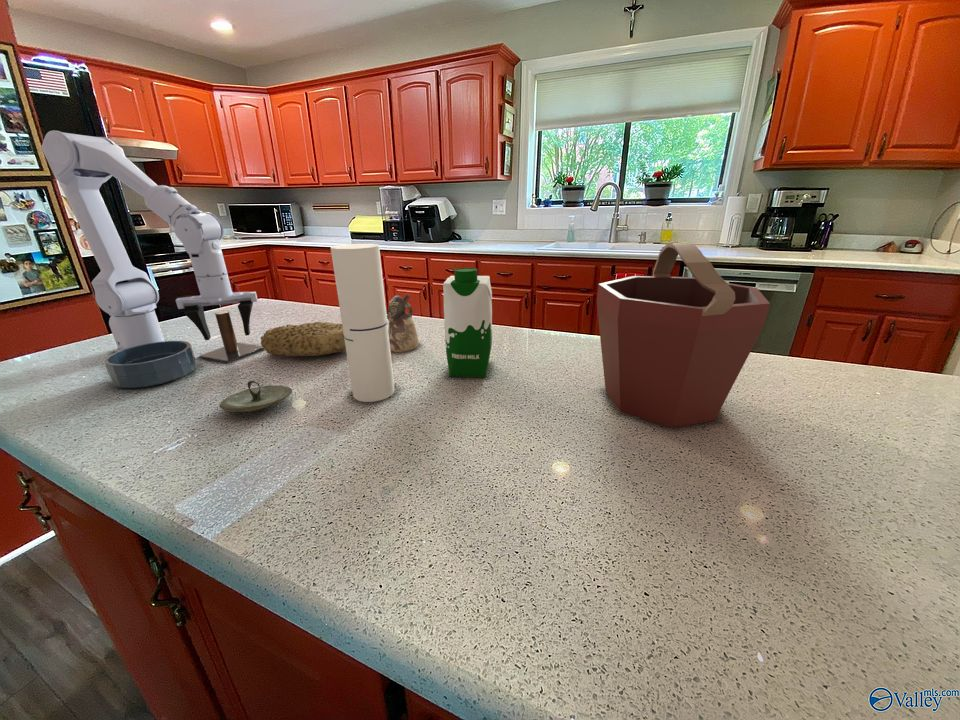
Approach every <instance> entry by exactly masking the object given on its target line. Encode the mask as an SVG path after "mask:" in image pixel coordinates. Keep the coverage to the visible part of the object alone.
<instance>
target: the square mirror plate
mask: <svg viewBox="0 0 960 720" xmlns="http://www.w3.org/2000/svg"><path fill="white" fill-rule="evenodd" d="M237 344H238V348H239V351H237V352H235V353H226V352H225V348H224V346H223V347H220V348H217V349H214V350H212V351H208V352H206V353H203V354H200V355H199V358H200V359H203V360H204V359H205V360H211V361H216V362H220V363H226V364H230V363H232V362H235V361H238V360H240V359H243V358H245V357H247V356H250V355H253V354H256V353H258V352H260V351H264V348H263V347H262V346H260V345H259V346H258V345H254V344H253V345H252V344H247V343H240V342H237Z"/></svg>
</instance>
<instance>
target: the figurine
mask: <svg viewBox="0 0 960 720" xmlns="http://www.w3.org/2000/svg"><path fill="white" fill-rule="evenodd" d="M410 298H411V295H409V294H407V293H406V294H405V295H404V296H403V297H402V296H400V295H394V296H393V297H392V298H391V299H390V300H389V301H388V307H387V308H388V309H387V310H386V315H387V322H388V333H389V343H390V352H394V353H395V352H396V353H404V352H409V351H413V350H415V349H416V348H417V347H418V345H419V336H418V331H417V327H416V324H415V322H414V319H413V313H414V312H413V307H412V305H411V304H410V303H409V302H408V301H409V300H410ZM406 309H408V312H406Z"/></svg>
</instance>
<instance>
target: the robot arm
mask: <svg viewBox="0 0 960 720" xmlns="http://www.w3.org/2000/svg"><path fill="white" fill-rule="evenodd" d="M40 148H41V151H42V153H43V154H44V157H45V159H46V161H47V163H48V165H49V168H50V169H51V172H52V174H53V175H54V177H55V179H56V181H58V183H59V186H60V188H61V190H62V192H63V194H64V196H65V198H66V200H67V202H68V204H69V206H70V209H71V211H72V213H73V215H74V217H75V219H76V221H77V223H78V225H79V228H80V230H81V232H82V234H83V237H84V239H85V241H86V242H87V244H88V246H89V249H90V251H91V253H92V255H93V257H94V260H95V261H96V263H97V266H98V267H99V269H100V272H98V274H97V275H96V276H95V277H94V278H93V279H92V281H91V285H92V287H93V290H94V298H95V302H96V304H97V306H98V307H99V308H100V309H101V311H103V312H104V313H106V314H108V315H109V316H110V317H109V320H108V325H109V328H110V331H111V334H112V336H113V338H114V342H115V344H116V346H117V347H116V348H114V349H113V352H118V351H120V350H123V349H127V348H130V347H134V346H138V345H143V344H147V343H154V342H161V341H166V340H165V337H164V335H163V332H162V328H161V326H160V325H161V324H160V323H159V319H158V316H157V314H156V310H155V309H157V307H158V306H157V304H158V303H159V300H160V293H159V291H158V289H157V286H156V285H155V284H154V283H153V282H152V281H151V279H150V277H149V275H148V274H147V272H145V271H144V270H141V269H139V268H137V267H135V266H134V265H133V264H132V262H131V260H130V257H129V255H128V253H127V250H126V248H125V246H124V244H123V241H122V239H121V237H120V235H119V232H118V231H117V228H116V225H115V223H114V222H113V219H112V216H111V215H110V212H109V210H108V207H107V205H106V204H105V201H104V198H103V197H102V194H101V192H100V188H101V187H102V185H103V184H104V183H106V182H107V181H109V180H110V179H111V178H112V177H113V178H115V179H116V180H118V181H120V182H121V183H122V184H124V185H125V186H126V187H128V188H130V189H131V190H133V191H134V192H135V193H137V194H138V195H140V196H142V197H143V199H144V204H145V206H146V207H147V208H148V209H149V210H150V211H152V212H153V213H154V214H155V215H157V216H158V217H159V218H161V219H162V220H163V221H165V222H166V223H167V224H168V225H169V226H171V227H172V228H173V232H174V234H175V236H176V238H177V239H178V240H179V241H180V242H181V244H182V245H183V248H184V251H185V252H186V253H187V254H188V256H189V259H190V262H191V266H192V269H193V273H194V277H195V280H196V284H197V288H198V291H199V295H193V296H186V297H185V296H184V297H178V298H176V299H175V303H176V306H177V309H178V310H183V309H184V311H183V314H184V315H185V317H187V318H188V319H189V320H190V321H191V322H192V323H193V324H194V325H195V326H196V328H197V329H198V331H199V332H200V334H201V335H202V337H203V339H204V341H209V340H210V339H211V337H212V336H211V332H210V329H209V327H208V324H207V320H206V315H205V310H204V307H209V306H220V305H231V304H238V305H237V309H238V311H239V315H240V318H241V321H242V326H243V331H244V336H250V334H251V330H250V329H251V327H250V325H251V324H250V321H251V314H252V309H253V305H254V303H257V302H258V301H259V299H258V294H257V291H233V290H232V286H231V282H230V278H229V274H228V270H227V266H226V262H225V259H224V254H223V251H222V247H221V243H220V240H222V239H223V236H224V226H223V224H222V222H221V221H220V219H219V218H218V217H217V216H216V215H215V214H214V213H213V212H210V211H209V212H208V211H202V210H200V209H199V208H198V207H197V206H196V205H195V204H192V203H190V202H189V201H188V200H186V198H184V197H183V196H182V195H180V194H179V193H178V190H177V189H176V188H175V187H173V186H168V185H164V184H161V185H160V184H159V185H158V184H157V183H156V182H155V181H153V179H152V178H150V177H149V176H148V175H147V174H146V173H145V172H143V171H142V170H141V169H140V168H139V167H138V166H137V165H135V164H134V162H132V161H131V160H130V159H129V158H127V156H126V155H125V152H124V148H123V147H121V146H119V145H117V144H116V143H115V142H114V141H113V140H112V139H110V138H108V137H106V136H91V135H84V134H76V133H71V132H70V133H69V132H63V131H60V130H56V129H55V130H50V131H48V132H46V133H45V136H44V138H43V141H42V143H41V147H40ZM123 281H125V282H123ZM126 281H127V282H126Z"/></svg>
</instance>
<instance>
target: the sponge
mask: <svg viewBox="0 0 960 720" xmlns="http://www.w3.org/2000/svg"><path fill="white" fill-rule="evenodd" d="M260 345H261V347H263V348H264V349H263V351H266V353H267V354H269V355H273V356H286V357H287V356H289V357H290V356H294V357H296V356H300V357H305V356H306V357H307V356H309V357H316V356H317V357H318V356H325V355H332V354H337V353H342V352H344V351H345V352H346V346H345V339H344V333H343V326H342V323H335V322H327V321H326V322H322V321H318V322H317V321H316V322H306V323H302V324H291V323H290V324H286V326H285V325H282V326H275V327H271V328H268V329H267V330H265V332H264V333H263V335H261V336H260Z"/></svg>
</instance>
